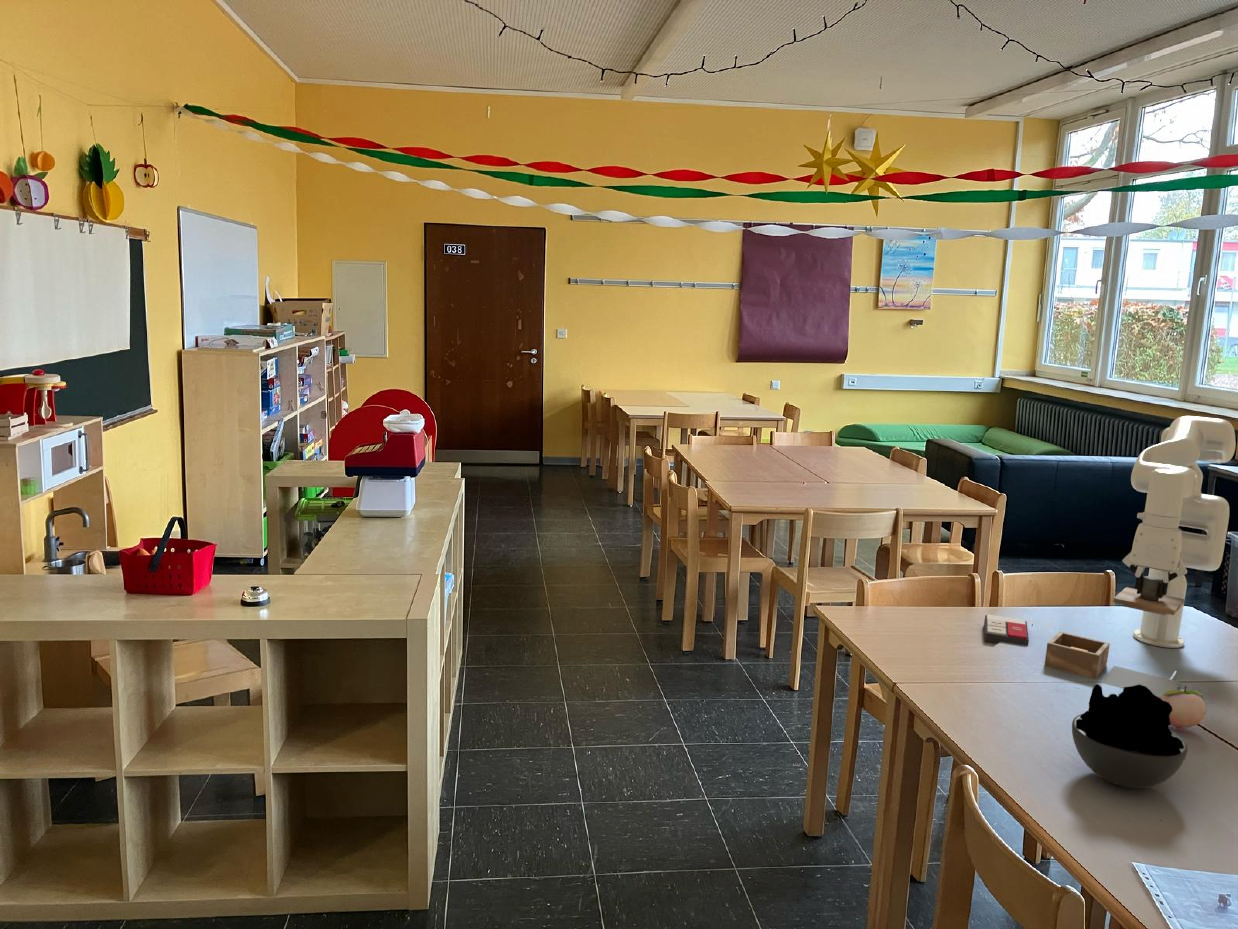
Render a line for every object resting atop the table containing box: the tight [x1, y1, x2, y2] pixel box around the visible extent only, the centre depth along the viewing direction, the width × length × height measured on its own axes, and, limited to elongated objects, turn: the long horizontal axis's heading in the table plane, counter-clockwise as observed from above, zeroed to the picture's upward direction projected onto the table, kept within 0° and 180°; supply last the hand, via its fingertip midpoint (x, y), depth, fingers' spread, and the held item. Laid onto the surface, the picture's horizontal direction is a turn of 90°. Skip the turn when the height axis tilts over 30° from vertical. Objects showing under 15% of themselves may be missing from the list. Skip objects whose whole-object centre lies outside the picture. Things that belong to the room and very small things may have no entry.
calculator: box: [983, 614, 1030, 646], centre depth 275 cm, size 11×4×15 cm
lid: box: [1112, 575, 1185, 616], centre depth 241 cm, size 13×13×7 cm
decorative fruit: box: [1161, 685, 1207, 730], centre depth 219 cm, size 9×8×10 cm
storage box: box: [1044, 631, 1111, 680], centre depth 253 cm, size 12×12×7 cm
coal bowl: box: [1071, 683, 1189, 789], centre depth 193 cm, size 20×20×19 cm
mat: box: [1100, 665, 1181, 698], centre depth 244 cm, size 15×15×1 cm
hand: (1150, 594), depth 241 cm, fingers closed on lid, 4 cm apart
